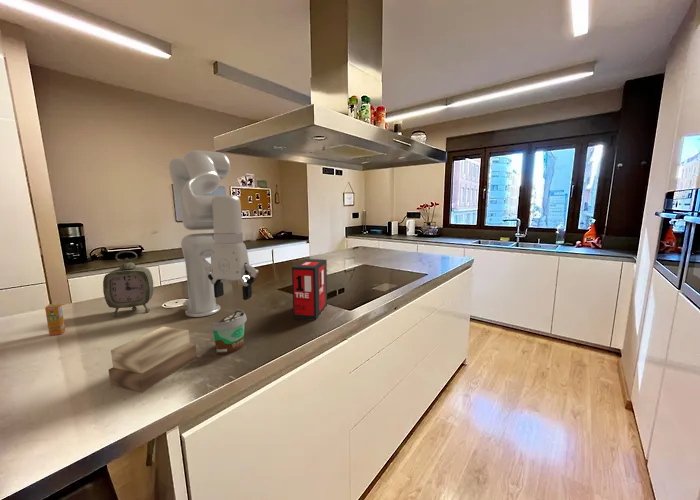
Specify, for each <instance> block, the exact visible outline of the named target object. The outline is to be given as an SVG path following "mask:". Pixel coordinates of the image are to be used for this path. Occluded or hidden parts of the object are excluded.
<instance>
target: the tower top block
mask: <svg viewBox="0 0 700 500" xmlns="http://www.w3.org/2000/svg"><path fill="white" fill-rule="evenodd" d="M190 341H191V339H190V331H189V329H184V328H183V329H182V328H175V327H168V326H161V327H159V328H157V329H154V330H152V331H150V332H148V333H145V334H144V335H142V336H139V337H137V338H135V339H132V340H130V341H128V342H126V343H124V344H121V345H119V346H118V347H115V348H112V349H111V350H110V354H111V360H112V362H111V363H112V368H117V369H122V370H127V371H132V372H137V373H144V372H146V371H147V370H149V369H151V368H153V367H154V366H156V365H158V364H159V363H161V362H163V361H165V360H166V359H168V358H170V357H171V356H173V355H175V354H176V353H178V352H180V351H182V350H183V349H185V348H187V347H188V346H190V344H191V342H190Z"/></svg>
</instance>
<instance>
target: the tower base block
mask: <svg viewBox="0 0 700 500" xmlns="http://www.w3.org/2000/svg"><path fill="white" fill-rule="evenodd" d="M197 355H198V354H197V345H196V344H195V343H190V346H188V347H187V348H185V349H183V350H182V351H180V352H178V353H176V354H175V355H173V356H171V357H170V358H168V359H166V360H165V361H163V362H161V363H159V364H158V365H156V366H154V367H153V368H151V369H149V370H147V371H146V372H144V373H137V372H132V371H127V370H122V369H117V368H113V367H111V368H109V369H108V377H109V383H110V386H113V387H117V388H121V389H124V390H129V391H132V392H137V393H142V394H143V393H144V392H146V391H147V390H149V389H150V388H152V387H153V386H156V385H157V384H158V383H160V382H162V381H163V380H165V379H166V378H168V377H169V376H171V375H172V374H174V373H176V372H177V371H179V370H181V368H183V367H186V366H187V365H188V364H189V363H191V362H192V361H194V360H196V359H197V358H198V357H197Z"/></svg>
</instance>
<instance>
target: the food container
mask: <svg viewBox="0 0 700 500" xmlns="http://www.w3.org/2000/svg"><path fill="white" fill-rule="evenodd" d="M247 320H248V319H247V315H246V313H245V311H244V310H242V309H238V308H235V312H233V313H231V314H230V315H226V316H225V317H223V318H222V319H221V320H220V321H217V322H212V324H211V331H212V333H213V339H214V344H215V345H214V346H215V349H216V350H215V351H216V355H229V354H232V353H235V352H237V351H240V350H242V349H243V347H244V346H245V323H246V322H247Z"/></svg>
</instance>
